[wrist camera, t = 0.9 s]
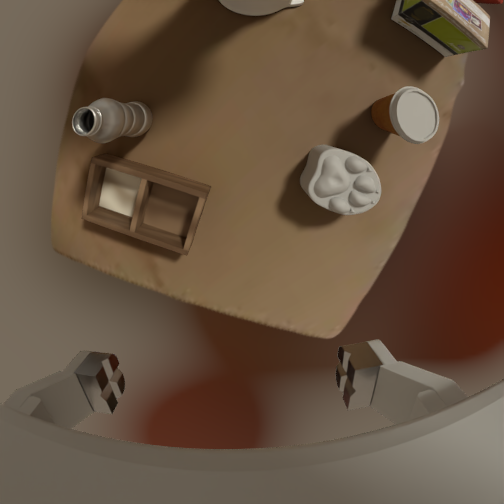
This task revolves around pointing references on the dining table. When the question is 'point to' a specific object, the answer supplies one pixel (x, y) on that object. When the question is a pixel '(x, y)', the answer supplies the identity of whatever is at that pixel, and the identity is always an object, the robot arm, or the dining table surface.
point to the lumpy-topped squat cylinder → (340, 181)
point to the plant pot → (489, 1)
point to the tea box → (445, 24)
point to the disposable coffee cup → (407, 114)
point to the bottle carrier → (144, 202)
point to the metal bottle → (112, 120)
